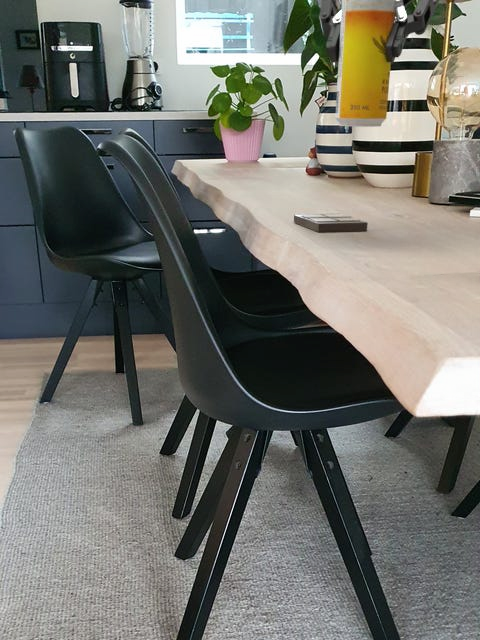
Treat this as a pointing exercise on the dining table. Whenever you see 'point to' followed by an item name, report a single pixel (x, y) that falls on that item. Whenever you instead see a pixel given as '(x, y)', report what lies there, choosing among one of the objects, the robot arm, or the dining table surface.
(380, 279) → the dining table surface
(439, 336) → the dining table surface
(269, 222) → the dining table surface
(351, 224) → the grey grid tile
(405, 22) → the robot arm
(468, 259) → the dining table surface
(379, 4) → the beer can
